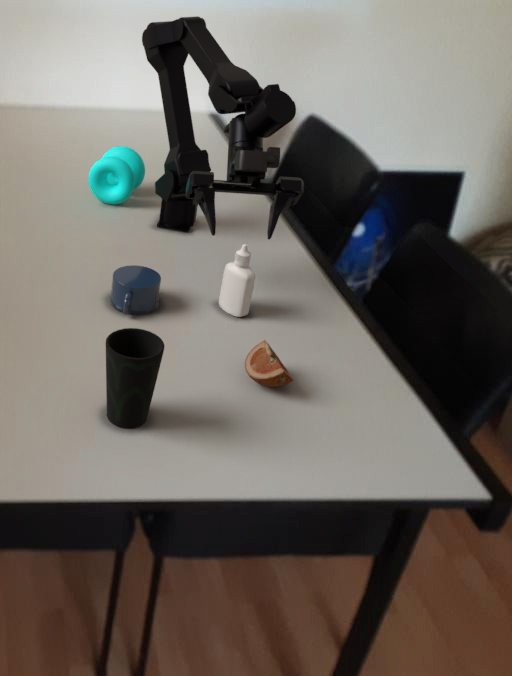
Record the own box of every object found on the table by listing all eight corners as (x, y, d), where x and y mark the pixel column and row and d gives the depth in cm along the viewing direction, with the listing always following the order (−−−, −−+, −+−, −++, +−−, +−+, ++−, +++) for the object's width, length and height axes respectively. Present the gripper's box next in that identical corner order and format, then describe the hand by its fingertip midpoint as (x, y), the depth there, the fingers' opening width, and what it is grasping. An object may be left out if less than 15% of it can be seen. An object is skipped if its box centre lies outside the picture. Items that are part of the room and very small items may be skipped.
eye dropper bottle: (242, 301, 145) (254, 237, 138) (249, 318, 141) (262, 253, 134) (216, 301, 145) (227, 237, 138) (223, 318, 140) (235, 252, 134)
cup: (95, 400, 120) (102, 328, 113) (149, 399, 121) (158, 327, 114) (103, 434, 114) (110, 359, 107) (159, 432, 114) (169, 358, 108)
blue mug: (117, 287, 148) (119, 261, 145) (163, 296, 146) (167, 270, 143) (100, 314, 140) (102, 287, 137) (149, 324, 138) (152, 297, 135)
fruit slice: (298, 398, 122) (305, 369, 119) (253, 400, 122) (259, 371, 119) (278, 366, 129) (285, 338, 126) (236, 367, 128) (241, 339, 125)
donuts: (85, 201, 178) (88, 155, 173) (100, 185, 186) (104, 140, 180) (130, 210, 175) (134, 163, 170) (144, 193, 183) (149, 148, 177)
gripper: (196, 122, 136) (191, 214, 133) (314, 129, 135) (311, 222, 132) (187, 153, 147) (182, 239, 144) (296, 160, 146) (293, 247, 143)
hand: (241, 236), depth 140 cm, fingers open, 9 cm apart
